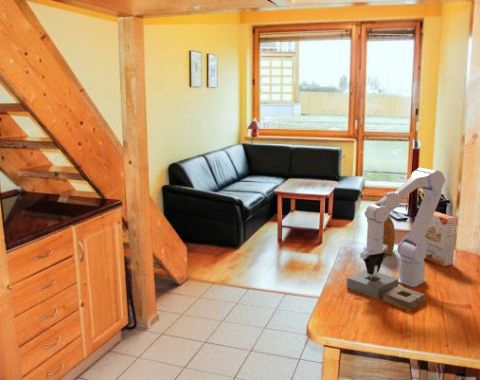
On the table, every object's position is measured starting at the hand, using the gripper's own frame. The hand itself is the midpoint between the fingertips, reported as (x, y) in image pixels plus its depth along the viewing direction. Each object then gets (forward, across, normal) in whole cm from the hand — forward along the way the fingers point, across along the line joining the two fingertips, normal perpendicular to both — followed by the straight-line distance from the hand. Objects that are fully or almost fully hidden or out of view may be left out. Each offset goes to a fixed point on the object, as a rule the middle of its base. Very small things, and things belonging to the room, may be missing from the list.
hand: (373, 272), depth 181 cm
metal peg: (+4, 0, 0) cm, 4 cm away
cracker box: (+6, -46, +1) cm, 46 cm away
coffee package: (+6, -40, -21) cm, 46 cm away
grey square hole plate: (+6, 0, 0) cm, 6 cm away
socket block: (+6, +2, +14) cm, 15 cm away
